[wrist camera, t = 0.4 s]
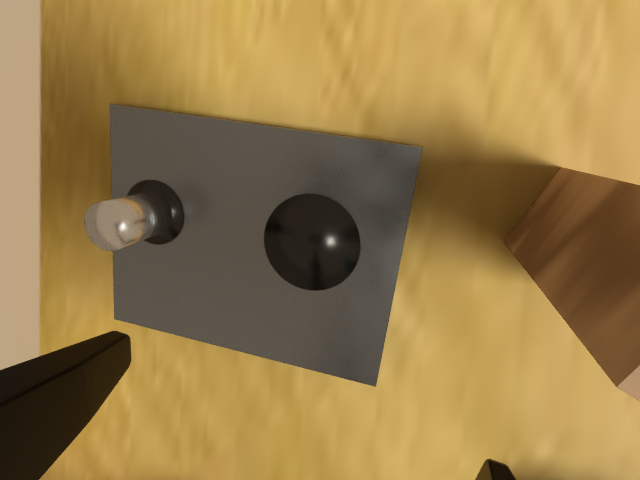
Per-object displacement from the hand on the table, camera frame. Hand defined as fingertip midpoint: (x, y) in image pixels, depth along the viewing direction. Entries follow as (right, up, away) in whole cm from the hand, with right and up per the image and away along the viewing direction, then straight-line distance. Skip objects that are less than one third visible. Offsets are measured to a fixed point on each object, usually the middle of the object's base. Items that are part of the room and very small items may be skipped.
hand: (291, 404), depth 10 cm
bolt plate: (-4, +4, +15) cm, 16 cm away
